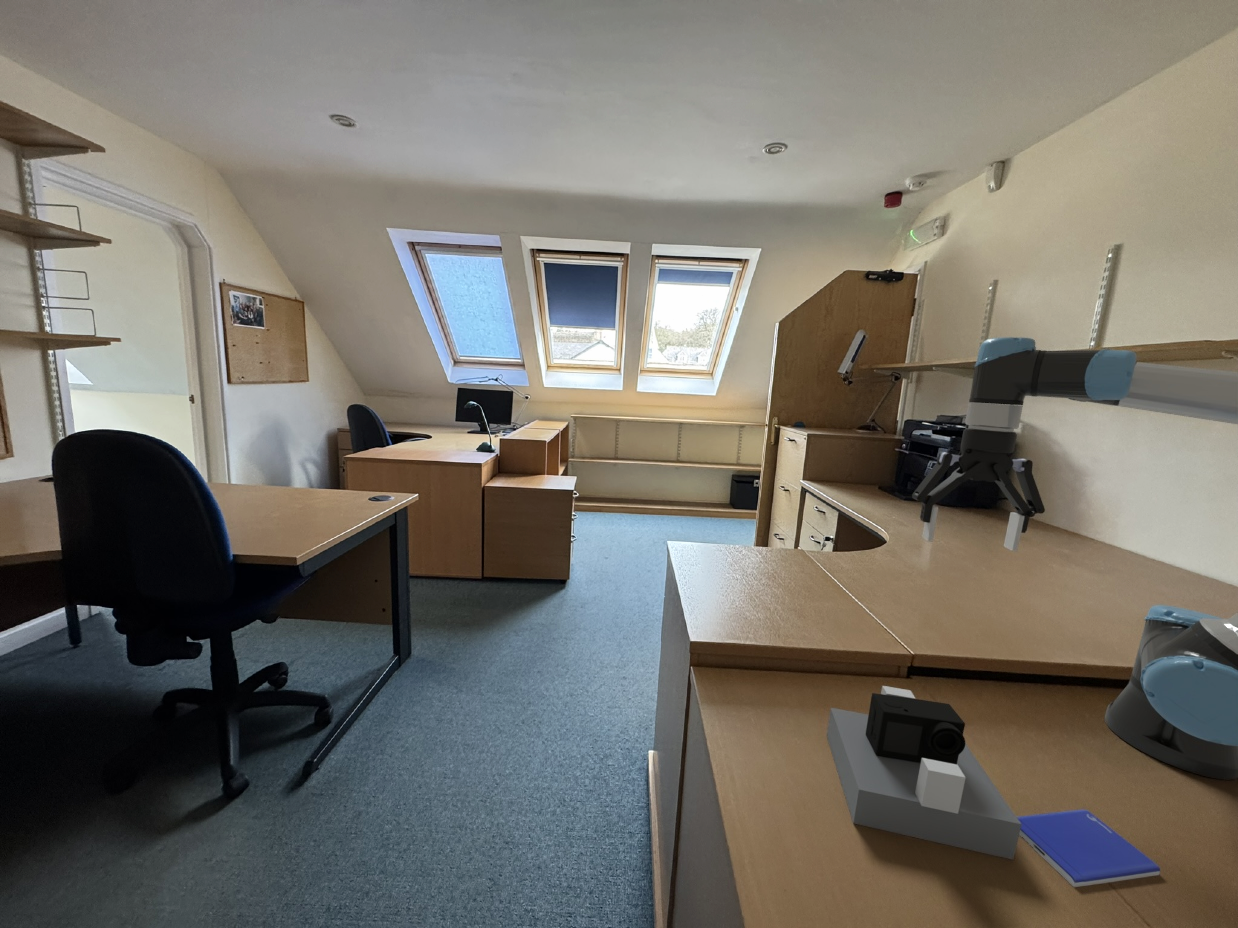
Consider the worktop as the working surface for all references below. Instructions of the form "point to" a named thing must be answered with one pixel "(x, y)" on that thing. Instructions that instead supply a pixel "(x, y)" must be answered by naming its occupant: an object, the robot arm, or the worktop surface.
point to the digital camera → (914, 729)
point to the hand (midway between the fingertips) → (967, 544)
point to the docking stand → (920, 791)
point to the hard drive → (1084, 848)
